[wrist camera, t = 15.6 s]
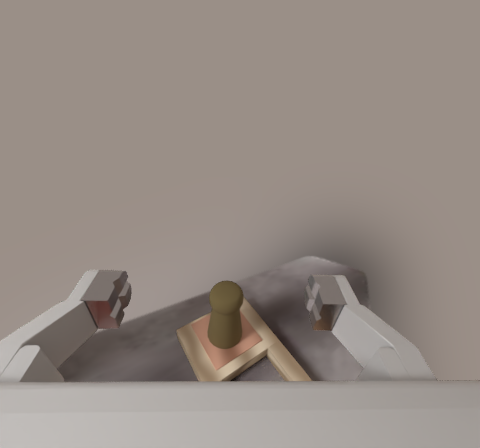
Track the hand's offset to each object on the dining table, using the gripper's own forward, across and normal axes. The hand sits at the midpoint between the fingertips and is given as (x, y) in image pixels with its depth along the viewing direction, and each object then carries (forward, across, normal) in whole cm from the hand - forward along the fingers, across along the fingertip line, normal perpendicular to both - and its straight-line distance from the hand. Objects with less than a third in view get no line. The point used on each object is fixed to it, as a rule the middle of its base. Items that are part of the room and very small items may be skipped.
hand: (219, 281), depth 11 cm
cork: (+16, -1, +31) cm, 35 cm away
